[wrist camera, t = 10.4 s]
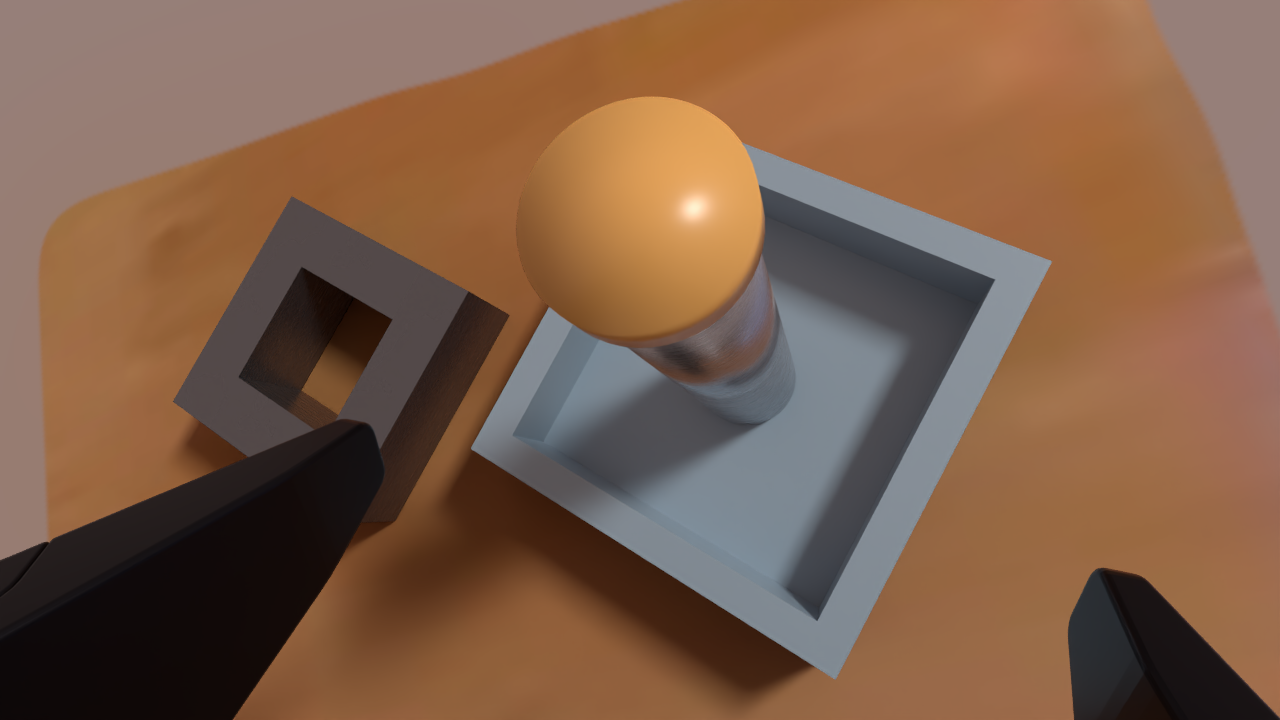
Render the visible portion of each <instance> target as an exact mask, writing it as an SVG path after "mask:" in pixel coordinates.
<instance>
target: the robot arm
mask: <svg viewBox="0 0 1280 720" xmlns="http://www.w3.org/2000/svg"><path fill="white" fill-rule="evenodd" d="M384 475H385V466H384V462H383V459H382V455H381V452H380V448H379V445H378V442H377V438H376V435H375V432H374V429H373V428H372V427H371V426H370V424H368V423H365V422H361V421H356V420H350V419H339V420H336V421H334V422H332V423H329V424H327V425H324V426H322V427H320V428H317V429H315V430H312V431H310V432H308V433H305V434H303V435H300V436H298V437H296V438H293V439H291V440H288V441H286V442H284V443H281V444H279V445H276V446H274V447H272V448H269V449H267V450H264V451H262V452H260V453H257V454H255V455H252V456H250V457H248V458H245V459H243V460H240V461H238V462H236V463H233V464H231V465H228V466H226V467H224V468H221V469H219V470H216V471H214V472H212V473H209V474H207V475H204V476H202V477H200V478H197V479H195V480H192V481H190V482H188V483H185V484H183V485H180V486H178V487H176V488H173V489H171V490H168V491H166V492H164V493H161V494H159V495H156V496H154V497H152V498H149V499H147V500H144V501H142V502H140V503H137V504H135V505H132V506H130V507H128V508H125V509H123V510H120V511H118V512H116V513H113V514H111V515H108V516H106V517H104V518H101V519H99V520H96V521H94V522H92V523H89V524H87V525H84V526H82V527H80V528H77V529H75V530H72V531H70V532H68V533H65V534H63V535H60V536H58V537H56V538H53V539H52V540H51V541H50V543H49V542H44V543H41V544H38V545H36V546H34V547H31V548H29V549H26V550H24V551H22V552H20V553H17V554H15V555H12V556H10V557H7V558H5V559H2V560H0V720H233V719H234V717H235V716H236V714H237V713H238V711H239V710H240V708H241V707H242V706H243V704H244V703H245V701H246V700H247V698H248V697H249V695H250V694H251V692H252V691H253V689H254V688H255V687H256V685H257V684H258V682H259V681H260V679H261V678H262V676H263V675H264V673H265V672H266V671H267V669H268V668H269V666H270V665H271V663H272V662H273V660H274V659H275V657H276V656H277V654H278V653H279V652H280V650H281V649H282V647H283V646H284V644H285V643H286V641H287V640H288V638H289V637H290V636H291V634H292V633H293V631H294V630H295V628H296V627H297V625H298V624H299V622H300V621H301V620H302V618H303V617H304V615H305V614H306V612H307V611H308V609H309V608H310V606H311V605H312V603H313V602H314V601H315V599H316V598H317V596H318V595H319V593H320V592H321V590H322V589H323V587H324V586H325V584H326V583H327V581H328V580H329V578H330V576H331V575H332V573H333V571H334V570H335V568H336V566H337V565H338V563H339V561H340V559H341V558H342V556H343V554H344V552H345V550H346V549H347V547H348V545H349V543H350V541H351V539H352V538H353V536H354V534H355V532H356V530H357V529H358V527H359V525H360V523H361V521H362V520H363V518H364V516H365V514H366V512H367V510H368V509H369V507H370V505H371V503H372V501H373V500H374V498H375V496H376V494H377V492H378V491H379V489H380V487H381V485H382V483H383V479H384ZM1068 644H1069V658H1070V671H1071V684H1072V697H1073V711H1074V720H1280V718H1279V717H1278V716H1277V715H1276V714H1275V713H1274V711H1273V710H1272V709H1271V708H1270V707H1269V706H1268V705H1267V704H1266V703H1265V702H1264V701H1263V700H1262V699H1261V698H1260V697H1259V696H1258V695H1257V694H1256V693H1255V692H1254V691H1253V690H1252V689H1251V688H1250V687H1249V685H1248V684H1247V683H1246V682H1245V681H1244V680H1243V679H1242V678H1241V677H1240V676H1239V675H1238V674H1237V673H1236V672H1235V671H1234V670H1233V669H1232V668H1231V667H1230V666H1229V665H1228V664H1227V663H1226V662H1225V661H1224V660H1223V658H1222V657H1221V656H1220V655H1219V654H1218V653H1217V652H1216V651H1215V650H1214V649H1213V648H1212V647H1211V646H1210V645H1209V644H1208V643H1207V642H1206V641H1205V640H1204V639H1203V638H1202V637H1201V636H1200V635H1199V634H1198V632H1197V631H1196V630H1195V629H1194V628H1193V627H1192V626H1191V625H1190V624H1189V623H1188V622H1187V621H1186V620H1185V619H1184V618H1183V617H1182V616H1181V615H1180V614H1179V613H1178V612H1177V611H1176V610H1175V609H1174V608H1173V607H1172V605H1171V604H1170V603H1169V602H1168V601H1167V600H1166V599H1165V598H1164V597H1163V596H1162V595H1161V594H1160V593H1159V592H1158V591H1157V590H1156V589H1155V588H1154V587H1153V586H1152V585H1151V584H1150V583H1149V582H1148V581H1147V580H1146V579H1145V578H1143V577H1142V576H1139V575H1137V574H1133V573H1128V572H1123V571H1118V570H1113V569H1108V568H1098V569H1096V570H1095V571H1094V572H1093V573H1092V574H1091V575H1090V577H1089V579H1088V581H1087V583H1086V585H1085V587H1084V590H1083V592H1082V594H1081V596H1080V598H1079V600H1078V602H1077V604H1076V606H1075V608H1074V610H1073V612H1072V615H1071V617H1070V621H1069V627H1068Z"/></svg>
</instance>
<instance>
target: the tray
mask: <svg viewBox="0 0 1280 720" xmlns="http://www.w3.org/2000/svg"><path fill="white" fill-rule="evenodd" d="M742 144H743V146H744V147H745V149H746V150H747V153H748V155H749V157H750V159H751V161H752V163H753V167H754V170H755V173H756V177H757V180H758V185H759V189H760V193H761V197H762V202H763V207H764V214H765V237H764V245H763V250H762V255H763V258H764V262H765V265H766V269H767V272H768V276H769V279H770V283H771V286H772V290H773V293H774V297H775V300H776V304H777V307H778V311H779V314H780V318H781V321H782V325H783V328H784V332H785V335H786V339H787V342H788V346H789V349H790V353H791V356H792V360H793V363H794V367H795V372H796V383H795V388H794V392H793V395H792V397H791V399H790V401H789V403H788V404H787V405H786V407H785V408H784V409H783V410H782V411H781V412H780V413H779V414H778V415H776V416H775V417H774V418H772V419H770V420H768V421H766V422H763V423H760V424H756V425H738V424H734V423H731V422H728V421H726V420H724V419H723V418H721V417H719V416H718V415H717V414H715V413H714V412H713V411H711V410H710V409H709V408H707V407H706V406H705V405H703V404H702V403H701V402H699V401H698V400H697V399H695V398H694V397H693V396H691V395H690V394H689V393H687V392H686V391H685V390H683V389H682V388H681V387H679V386H678V385H677V384H675V383H674V382H673V381H671V380H670V379H669V378H667V377H666V376H665V375H663V374H662V373H661V372H659V371H658V370H657V369H655V368H654V367H653V366H651V365H650V364H649V363H647V362H646V361H645V360H643V359H642V358H641V357H639V356H638V355H637V354H635V353H634V352H633V351H631V350H630V349H629V348H627V347H623V346H618V345H614V344H610V343H606V342H604V341H601V340H599V339H596V338H594V337H592V336H590V335H589V334H587V333H585V332H583V331H582V330H580V329H579V328H577V327H576V326H574V325H573V324H571V323H570V322H568V321H567V320H566V319H564V318H563V317H561V316H560V315H559V314H557V313H556V312H555V311H554V310H552V309H551V308H550V307H549V308H548V310H547V312H546V314H545V315H544V317H543V319H542V321H541V323H540V324H539V326H538V328H537V330H536V332H535V333H534V335H533V337H532V339H531V341H530V342H529V344H528V346H527V348H526V350H525V351H524V353H523V355H522V357H521V359H520V361H519V362H518V364H517V366H516V368H515V370H514V371H513V373H512V375H511V377H510V379H509V380H508V382H507V384H506V386H505V388H504V389H503V391H502V393H501V395H500V397H499V398H498V400H497V402H496V404H495V406H494V407H493V409H492V411H491V413H490V415H489V416H488V418H487V420H486V422H485V424H484V426H483V427H482V429H481V431H480V433H479V435H478V436H477V438H476V440H475V442H474V444H473V445H472V447H471V449H472V450H473V451H475V452H477V453H478V454H480V455H481V456H483V457H485V458H486V459H488V460H489V461H491V462H492V463H494V464H496V465H497V466H499V467H500V468H502V469H503V470H505V471H507V472H508V473H510V474H511V475H513V476H515V477H516V478H518V479H519V480H521V481H522V482H524V483H526V484H527V485H529V486H530V487H532V488H533V489H535V490H537V491H538V492H540V493H541V494H543V495H545V496H546V497H548V498H549V499H551V500H552V501H554V502H556V503H557V504H559V505H560V506H562V507H564V508H565V509H567V510H568V511H570V512H571V513H573V514H575V515H576V516H578V517H579V518H581V519H582V520H584V521H586V522H587V523H589V524H590V525H592V526H594V527H595V528H597V529H598V530H600V531H601V532H603V533H605V534H606V535H608V536H609V537H611V538H612V539H614V540H616V541H617V542H619V543H620V544H622V545H624V546H625V547H627V548H628V549H630V550H631V551H633V552H635V553H636V554H638V555H639V556H641V557H642V558H644V559H646V560H647V561H649V562H650V563H652V564H654V565H655V566H657V567H658V568H660V569H661V570H663V571H665V572H666V573H668V574H669V575H671V576H672V577H674V578H676V579H677V580H679V581H680V582H682V583H684V584H685V585H687V586H688V587H690V588H691V589H693V590H695V591H696V592H698V593H699V594H701V595H702V596H704V597H706V598H707V599H709V600H710V601H712V602H714V603H715V604H717V605H718V606H720V607H721V608H723V609H725V610H726V611H728V612H729V613H731V614H733V615H734V616H736V617H737V618H739V619H740V620H742V621H744V622H745V623H747V624H748V625H750V626H751V627H753V628H755V629H756V630H758V631H759V632H761V633H763V634H764V635H766V636H767V637H769V638H770V639H772V640H774V641H775V642H777V643H778V644H780V645H781V646H783V647H785V648H786V649H788V650H789V651H791V652H793V653H794V654H796V655H797V656H799V657H800V658H802V659H804V660H805V661H807V662H808V663H810V664H811V665H813V666H815V667H816V668H818V669H819V670H821V671H823V672H824V673H826V674H827V675H829V676H830V677H832V678H834V679H835V680H836V678H837V676H838V674H839V672H840V670H841V668H842V666H843V664H844V662H845V660H846V658H847V657H848V655H849V653H850V651H851V649H852V647H853V645H854V643H855V641H856V639H857V637H858V635H859V633H860V631H861V629H862V628H863V626H864V624H865V622H866V620H867V618H868V616H869V614H870V612H871V610H872V608H873V606H874V604H875V602H876V601H877V599H878V597H879V595H880V593H881V591H882V589H883V587H884V585H885V583H886V581H887V579H888V577H889V575H890V573H891V572H892V570H893V568H894V566H895V564H896V562H897V560H898V558H899V556H900V554H901V552H902V550H903V548H904V546H905V544H906V543H907V541H908V539H909V537H910V535H911V533H912V531H913V529H914V527H915V525H916V523H917V521H918V519H919V517H920V515H921V514H922V512H923V510H924V508H925V506H926V504H927V502H928V500H929V498H930V496H931V494H932V492H933V490H934V488H935V486H936V485H937V483H938V481H939V479H940V477H941V475H942V473H943V471H944V469H945V467H946V465H947V463H948V461H949V459H950V457H951V456H952V454H953V452H954V450H955V448H956V446H957V444H958V442H959V440H960V438H961V436H962V434H963V432H964V430H965V429H966V427H967V425H968V423H969V421H970V419H971V417H972V415H973V413H974V411H975V409H976V407H977V405H978V403H979V401H980V400H981V398H982V396H983V394H984V392H985V390H986V388H987V386H988V384H989V382H990V380H991V378H992V376H993V374H994V372H995V371H996V369H997V367H998V365H999V363H1000V361H1001V359H1002V357H1003V355H1004V353H1005V351H1006V349H1007V347H1008V345H1009V343H1010V342H1011V340H1012V338H1013V336H1014V334H1015V332H1016V330H1017V328H1018V326H1019V324H1020V322H1021V320H1022V318H1023V316H1024V314H1025V313H1026V311H1027V309H1028V307H1029V305H1030V303H1031V301H1032V299H1033V297H1034V295H1035V293H1036V291H1037V289H1038V287H1039V285H1040V284H1041V282H1042V280H1043V278H1044V276H1045V274H1046V272H1047V270H1048V268H1049V266H1050V264H1051V262H1052V261H1050V260H1047V259H1044V258H1042V257H1039V256H1037V255H1034V254H1031V253H1029V252H1026V251H1024V250H1021V249H1018V248H1016V247H1013V246H1010V245H1008V244H1005V243H1003V242H1000V241H997V240H995V239H992V238H990V237H987V236H984V235H982V234H979V233H977V232H974V231H971V230H969V229H966V228H963V227H961V226H958V225H956V224H953V223H950V222H948V221H945V220H943V219H940V218H937V217H935V216H932V215H929V214H927V213H924V212H922V211H919V210H916V209H914V208H911V207H909V206H906V205H903V204H901V203H898V202H895V201H893V200H890V199H888V198H885V197H882V196H880V195H877V194H875V193H872V192H869V191H867V190H864V189H861V188H859V187H856V186H854V185H851V184H848V183H846V182H843V181H841V180H838V179H835V178H833V177H830V176H827V175H825V174H822V173H820V172H817V171H814V170H812V169H809V168H807V167H804V166H801V165H799V164H796V163H793V162H791V161H788V160H786V159H783V158H780V157H778V156H775V155H773V154H770V153H767V152H765V151H762V150H759V149H757V148H754V147H752V146H749V145H746V144H744V143H742Z"/></svg>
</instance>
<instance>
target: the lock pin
mask: <svg viewBox="0 0 1280 720" xmlns="http://www.w3.org/2000/svg"><path fill="white" fill-rule="evenodd" d="M516 235H517V246H518V251H519V256H520V260H521V263H522V266H523V269H524V272H525V274H526V276H527V278H528V280H529V282H530V284H531V285H532V287H533V288H534V290H535V291H536V292H537V294H538V295H539V297H540V298H541V299H542V300H543V301H544V302H545V303H546V304H547V305H548V306H549V307H550V308H551V309H552V310H554V311H555V312H556V313H557V314H559V315H560V316H561V317H563V318H564V319H566V320H567V321H568V322H570V323H571V324H573V325H574V326H576V327H577V328H579V329H580V330H582V331H583V332H585V333H587V334H589V335H590V336H592V337H594V338H596V339H599V340H601V341H604V342H606V343H610V344H614V345H618V346H623V347H627V348H629V349H630V350H631V351H633V352H634V353H635V354H637V355H638V356H639V357H641V358H642V359H643V360H645V361H646V362H647V363H649V364H650V365H651V366H653V367H654V368H655V369H657V370H658V371H659V372H661V373H662V374H663V375H665V376H666V377H667V378H669V379H670V380H671V381H673V382H674V383H675V384H677V385H678V386H679V387H681V388H682V389H683V390H685V391H686V392H687V393H689V394H690V395H691V396H693V397H694V398H695V399H697V400H698V401H699V402H701V403H702V404H703V405H705V406H706V407H707V408H709V409H710V410H711V411H713V412H714V413H715V414H717V415H718V416H719V417H721V418H723V419H724V420H726V421H728V422H731V423H734V424H738V425H756V424H760V423H763V422H766V421H768V420H770V419H772V418H774V417H775V416H776V415H778V414H779V413H780V412H781V411H782V410H783V409H784V408H785V407H786V405H787V404H788V403H789V401H790V399H791V397H792V395H793V392H794V388H795V383H796V372H795V367H794V363H793V360H792V356H791V353H790V349H789V346H788V342H787V339H786V335H785V332H784V328H783V325H782V321H781V318H780V314H779V311H778V307H777V304H776V300H775V297H774V293H773V290H772V286H771V283H770V279H769V276H768V272H767V269H766V265H765V262H764V258H763V255H762V250H763V245H764V237H765V214H764V207H763V202H762V197H761V193H760V189H759V185H758V180H757V177H756V173H755V170H754V167H753V163H752V161H751V159H750V157H749V155H748V153H747V150H746V149H745V147H744V146H743V144H742V143H741V141H740V140H739V138H738V137H737V136H736V134H735V133H734V132H733V131H732V130H731V129H730V128H729V127H728V126H727V125H726V124H725V123H724V122H722V121H721V120H720V119H719V118H717V117H716V116H715V115H713V114H711V113H710V112H708V111H706V110H705V109H703V108H701V107H698V106H696V105H694V104H691V103H688V102H685V101H681V100H677V99H672V98H665V97H639V98H631V99H626V100H622V101H618V102H614V103H611V104H608V105H606V106H603V107H600V108H598V109H596V110H594V111H592V112H590V113H588V114H586V115H584V116H583V117H581V118H580V119H578V120H577V121H575V122H574V123H572V124H571V125H570V126H569V127H567V128H566V129H565V130H564V131H562V132H561V133H560V134H559V135H558V136H557V137H556V138H555V139H554V140H553V141H552V142H551V143H550V144H549V145H548V147H547V148H546V149H545V151H544V152H543V153H542V155H541V156H540V157H539V159H538V160H537V162H536V164H535V165H534V167H533V169H532V170H531V172H530V174H529V177H528V179H527V181H526V183H525V186H524V189H523V192H522V195H521V198H520V202H519V207H518V212H517V224H516Z"/></svg>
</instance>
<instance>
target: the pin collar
mask: <svg viewBox="0 0 1280 720" xmlns="http://www.w3.org/2000/svg"><path fill="white" fill-rule="evenodd" d="M354 297H355V298H356V299H358V300H360V301H361V302H363V303H365V304H367V305H368V306H370V307H372V308H374V309H375V310H377V311H379V312H380V313H382V314H384V315H386V316H387V317H389V318H391V319H392V322H391V323H390V325H389V327H388V329H387V330H386V332H385V334H384V336H383V338H382V339H381V341H380V343H379V345H378V346H377V348H376V350H375V352H374V353H373V355H372V357H371V359H370V361H369V362H368V364H367V366H366V368H365V369H364V371H363V373H362V375H361V376H360V378H359V380H358V382H357V384H356V385H355V387H354V389H353V391H352V392H351V394H350V396H349V398H348V399H347V401H346V403H345V405H344V407H343V408H342V410H341V412H340V414H339V415H337V414H336V413H334V412H333V411H331V410H330V409H328V408H327V407H325V406H324V405H322V404H321V403H319V402H318V401H316V400H315V399H313V398H312V397H310V396H309V395H307V394H306V393H304V392H303V391H301V389H302V387H303V386H304V384H305V382H306V380H307V379H308V377H309V375H310V373H311V372H312V370H313V368H314V366H315V365H316V363H317V361H318V359H319V358H320V356H321V354H322V352H323V350H324V349H325V347H326V345H327V343H328V342H329V340H330V338H331V336H332V335H333V333H334V331H335V329H336V328H337V326H338V324H339V322H340V321H341V319H342V317H343V315H344V314H345V312H346V310H347V308H348V307H349V305H350V303H351V301H352V300H353V298H354ZM508 317H509V315H508V314H507V313H505V312H503V311H502V310H500V309H498V308H496V307H495V306H493V305H491V304H489V303H488V302H486V301H484V300H482V299H481V298H479V297H477V296H476V295H474V294H472V293H470V292H469V291H467V290H465V289H463V288H461V287H459V286H457V285H456V284H454V283H452V282H450V281H448V280H446V279H444V278H443V277H441V276H439V275H437V274H435V273H433V272H431V271H430V270H428V269H426V268H424V267H422V266H420V265H418V264H417V263H415V262H413V261H411V260H409V259H407V258H405V257H404V256H402V255H400V254H398V253H396V252H394V251H392V250H390V249H389V248H387V247H385V246H383V245H381V244H379V243H377V242H376V241H374V240H372V239H370V238H368V237H366V236H364V235H363V234H361V233H359V232H357V231H355V230H353V229H351V228H350V227H348V226H346V225H344V224H342V223H340V222H338V221H337V220H335V219H333V218H331V217H329V216H327V215H325V214H324V213H322V212H320V211H318V210H316V209H314V208H312V207H311V206H309V205H307V204H305V203H303V202H301V201H299V200H297V199H296V198H294V197H291V198H290V200H289V202H288V203H287V205H286V207H285V209H284V210H283V212H282V214H281V216H280V217H279V219H278V221H277V223H276V224H275V226H274V228H273V229H272V231H271V233H270V235H269V236H268V238H267V240H266V242H265V243H264V245H263V247H262V248H261V250H260V252H259V254H258V255H257V257H256V259H255V261H254V262H253V264H252V266H251V267H250V269H249V271H248V273H247V274H246V276H245V278H244V280H243V281H242V283H241V285H240V286H239V288H238V290H237V292H236V293H235V295H234V297H233V299H232V300H231V302H230V304H229V306H228V307H227V309H226V311H225V312H224V314H223V316H222V318H221V319H220V321H219V323H218V325H217V326H216V328H215V330H214V331H213V333H212V335H211V337H210V338H209V340H208V342H207V344H206V345H205V347H204V349H203V350H202V352H201V354H200V356H199V357H198V359H197V361H196V363H195V364H194V366H193V368H192V370H191V371H190V373H189V375H188V376H187V378H186V380H185V382H184V383H183V385H182V387H181V389H180V390H179V392H178V394H177V395H176V397H175V399H174V401H173V402H174V403H176V404H177V405H178V406H180V407H181V408H183V409H184V410H185V411H187V412H188V413H189V414H191V415H192V416H193V417H195V418H196V419H197V420H199V421H200V422H201V423H203V424H204V425H206V426H207V427H208V428H210V429H211V430H212V431H214V432H215V433H216V434H218V435H219V436H220V437H222V438H223V439H224V440H226V441H227V442H229V443H230V444H231V445H233V446H234V447H235V448H237V449H238V450H239V451H241V452H242V453H243V454H245V455H246V456H247V457H250V456H252V455H255V454H257V453H260V452H262V451H264V450H267V449H269V448H272V447H274V446H276V445H279V444H281V443H284V442H286V441H288V440H291V439H293V438H296V437H298V436H300V435H303V434H305V433H308V432H310V431H312V430H315V429H317V428H320V427H322V426H324V425H327V424H329V423H332V422H334V421H336V420H339V419H350V420H356V421H361V422H365V423H368V424H370V426H371V427H372V428H373V429H374V432H375V435H376V438H377V442H378V445H379V448H380V452H381V455H382V459H383V462H384V466H385V475H384V479H383V483H382V485H381V487H380V489H379V491H378V492H377V494H376V496H375V498H374V500H373V501H372V503H371V505H370V507H369V509H368V510H367V512H366V514H365V516H364V518H363V520H362V521H361V523H363V522H386V521H395V520H396V518H397V516H398V515H399V513H400V511H401V509H402V507H403V506H404V504H405V502H406V500H407V498H408V497H409V495H410V493H411V491H412V489H413V488H414V486H415V484H416V482H417V480H418V479H419V477H420V475H421V473H422V472H423V470H424V468H425V466H426V464H427V463H428V461H429V459H430V457H431V455H432V454H433V452H434V450H435V448H436V446H437V445H438V443H439V441H440V439H441V437H442V436H443V434H444V432H445V430H446V428H447V427H448V425H449V423H450V421H451V419H452V418H453V416H454V414H455V412H456V410H457V409H458V407H459V405H460V403H461V401H462V400H463V398H464V396H465V394H466V392H467V391H468V389H469V387H470V385H471V383H472V382H473V380H474V378H475V376H476V374H477V373H478V371H479V369H480V367H481V365H482V364H483V362H484V360H485V358H486V357H487V355H488V353H489V351H490V349H491V348H492V346H493V344H494V342H495V340H496V339H497V337H498V335H499V333H500V331H501V330H502V328H503V326H504V324H505V322H506V321H507V319H508Z"/></svg>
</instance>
